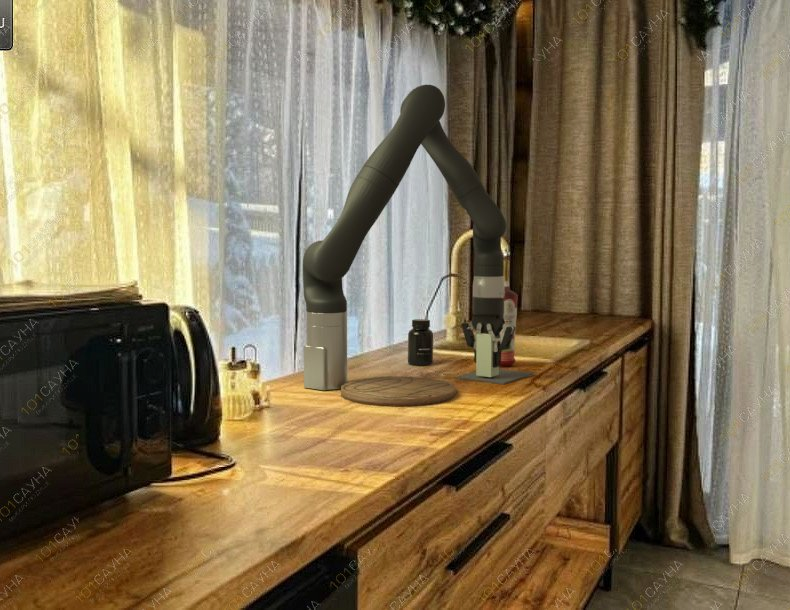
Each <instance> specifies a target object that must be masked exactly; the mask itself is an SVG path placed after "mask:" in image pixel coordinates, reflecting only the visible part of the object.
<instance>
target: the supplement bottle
mask: <svg viewBox="0 0 790 610" xmlns="http://www.w3.org/2000/svg"><path fill="white" fill-rule="evenodd" d="M411 327H412V328H411V329H410V330H409V331H408V333H407V363H408V365H410V366H418V367H425V366H426V367H427V366H431V365H433V361H434V331H432V330H431V329H430V328H431V320H430V319H424V318H421V319H420V318H417V319H415V318H413V319H412V320H411Z"/></svg>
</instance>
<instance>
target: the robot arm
mask: <svg viewBox="0 0 790 610" xmlns="http://www.w3.org/2000/svg"><path fill="white" fill-rule="evenodd" d="M445 99H446V98H445V95H444V94H443V92H442V90H441V89H440V88H439V87H438V86H435V85H433V84H422V85H419V86H416V87H414V88H413V89H412V90H411V91H410V92H409V93H408V94H407V95H406V97H405V98H404V99H403V101H402V103H401V105H400V110H399V113H400V114H399V116H398V118H397V119H396V122H395V124H394V125H393V127H392V129H391V130H390V131H389V132H388V134H387V135H386V137H385V138H384V139H383V140H382V141H381V142H380V143H379V144H378V146H377V147H376V148H375V149H374V150H373V152H372V153H371V155H370V156H369V157H368V159H367V160H366V161H365V162H364V164H363V166H362V167H361V169H359V172H358V173H357V175H356V177H355V178H354V180H353V181H352V184H351V185H350V187H349V190H348V193H347V196H346V199H345V202H344V206H343V207H342V208H343V209H342V212H341V214H340V216H339V218H338V219H337V221H336V223H335V224H334V225H333V227H332V228H331V230H330V231H329V232H328V234H327V235H326V236H325V237H324V239H323V240H318V241H317V240H316V241H315V242H312V243H311V244H309V245H308V247H307V248H306V249H305V251H304V253H303V258H302V282H303V283H302V284H303V286H302V289H303V298H304V301H305V309H306V310H305V312H306V315H305V316H306V321H305V322H306V326H305V327H306V330H305V331H306V345H304V346H303V388H306V389H313V390H319V391H328V390H330V391H331V390H341V386H342V385H344V384H345V383H348V301H347V297H346V295H345V294H344V289H343V288H344V287H343V278H344V277H345V276H346V275H347V273H348V272H349V270H350V269H351V267H352V265H353V263H354V260H355V258H356V257H357V255H358V252H359V250H360V248H361V246H362V244H363V242H364V240H365V238H366V236H367V235H368V233H369V232H370V230H371V228H373V226H374V225H375V223H376V221H377V220H378V218H379V217H380V215H381V214H382V213H383V211H384V209H385V208H386V206H387V205H388V203H389V202H390V201H391V200H392V199H391V198H392V197H393V195H394V194H395V192H396V191H397V189H398V187H399V185H400V184H401V182H402V180H403V178H404V176H405V174H407V173H406V172H407V171H408V169H409V167H410V165H411V163H412V161H413V159H414V157H415V155H416V153H417V151H418V149H419V148H420V146H422V147H423V149H424V150H425V152H426V153H427V154H428V155H429V157H430V158H431V160H432V161H433V163H434V164H435V166H436V167H437V169H438V170H439V171H440V173H441V175H442V177H443V178H444V179H445V182H446V183H447V185H448V187H449V189H450V190H451V192H452V194H453V195H454V197H455V199H456V201H457V202H458V204H459V206H461V208H462V209H464V210H465V212H467V214H468V216H469V218H470V219H471V221H472V241H473V251H474V252H473V253H474V263H473V266H474V267H473V282H472V314H473V315H472V319H471V321H468V322H467V321H466V322H462V323H461V328H462V331H463V335H464V340H465V342H466V345H467V347H469V348H472V349H473V352H474V357H473V361H474V363H475V364H476V341H477V334H481V333H482V334H489V335H492V343H493V351H494V352H493V367H494V368H496V367H499V365H500V364H501V352H502V350H505V349H508V348H509V346H510V343H511V340H512V337H513V334H514V331H515V332H516V329H515V326H510V325H508V324H505V321H504V318H503V316H504V295H505V291H504V277H503V276H504V260H505V259H504V255H503V253H502V237H503V236H504V234H505V233H506V231H507V221H506V218H505V216H504V214H503V213H502V211H501V210H500V208H499V207H498V205H497V204H496V202H495V201H494V200H493V199H492V197H491V196H490V194H488V191H487V190H486V188H485V186H484V184H483V182H482V181H481V179H480V176H478V174H477V172H476V171H475V169H474V167H473V166H472V164H471V163H470V162H469V161H468V159H467V158H466V157H465V156H464V155H463V154H462V153H461V152H460V151H459V150H458V149H457V148H456V147H455V145H454V144H453V143H452V141H451V140H450V139H449V137H448V135H447V134H446V133H445V130H444V129H443V126H442V123H441V121H440V120H441V119H442V118H443V116H444V113H445V111H446V100H445ZM502 329H504V331H503V332H504V336H503V339H502V342H501V334H500V332H501V330H502ZM474 330H475V334H474ZM496 336H498V337H497V338H495V337H496ZM499 368H500V367H499Z"/></svg>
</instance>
